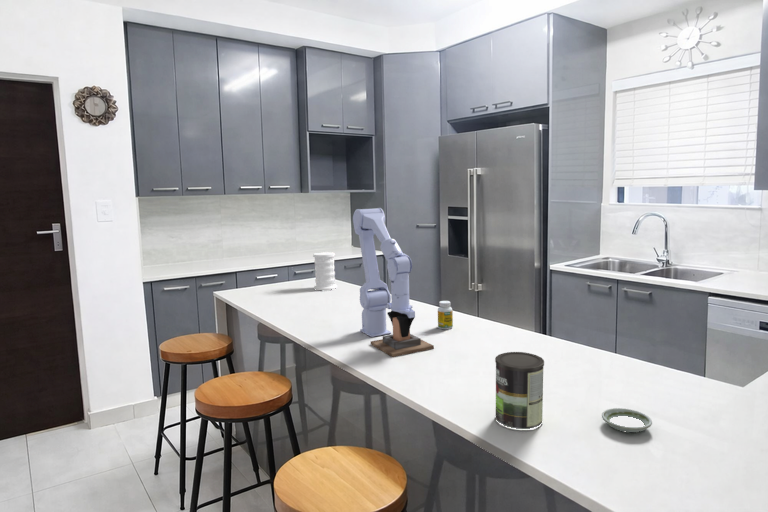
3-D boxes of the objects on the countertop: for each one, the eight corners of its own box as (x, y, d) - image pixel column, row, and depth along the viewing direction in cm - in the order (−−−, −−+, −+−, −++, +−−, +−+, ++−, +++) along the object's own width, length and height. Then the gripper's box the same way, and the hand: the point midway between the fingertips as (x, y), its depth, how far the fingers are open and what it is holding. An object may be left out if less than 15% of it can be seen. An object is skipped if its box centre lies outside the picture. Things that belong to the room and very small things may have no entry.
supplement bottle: (446, 324, 192) (445, 299, 190) (455, 328, 187) (455, 302, 186) (434, 327, 189) (434, 301, 187) (444, 330, 184) (444, 304, 183)
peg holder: (370, 344, 171) (370, 335, 171) (409, 336, 178) (409, 328, 178) (392, 357, 158) (392, 347, 158) (433, 348, 165) (433, 339, 164)
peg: (393, 341, 169) (392, 317, 168) (403, 339, 171) (403, 315, 169) (399, 344, 165) (398, 320, 164) (410, 342, 167) (409, 318, 166)
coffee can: (503, 433, 109) (503, 369, 107) (489, 411, 119) (489, 352, 117) (551, 430, 110) (552, 366, 108) (533, 409, 120) (533, 350, 118)
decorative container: (311, 291, 259) (309, 255, 257) (318, 286, 270) (316, 252, 268) (333, 291, 257) (332, 255, 255) (339, 286, 269) (338, 251, 266)
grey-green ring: (636, 416, 115) (637, 406, 115) (661, 438, 105) (661, 427, 105) (593, 418, 115) (594, 408, 114) (614, 440, 105) (614, 428, 105)
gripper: (423, 296, 161) (423, 338, 163) (399, 288, 174) (400, 327, 176) (403, 299, 158) (404, 342, 160) (381, 290, 170) (382, 330, 172)
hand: (401, 334), depth 167 cm, fingers closed on peg, 4 cm apart
